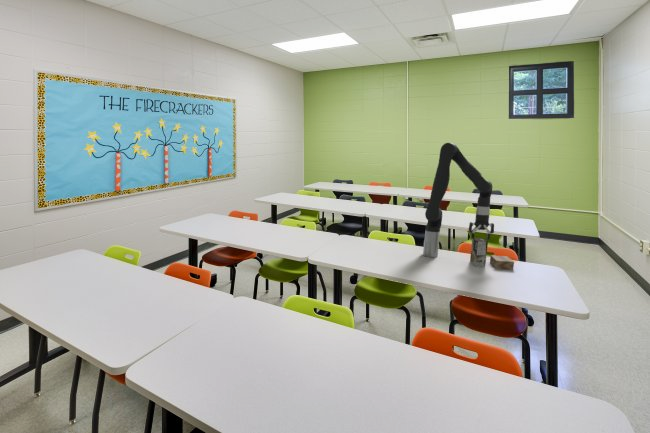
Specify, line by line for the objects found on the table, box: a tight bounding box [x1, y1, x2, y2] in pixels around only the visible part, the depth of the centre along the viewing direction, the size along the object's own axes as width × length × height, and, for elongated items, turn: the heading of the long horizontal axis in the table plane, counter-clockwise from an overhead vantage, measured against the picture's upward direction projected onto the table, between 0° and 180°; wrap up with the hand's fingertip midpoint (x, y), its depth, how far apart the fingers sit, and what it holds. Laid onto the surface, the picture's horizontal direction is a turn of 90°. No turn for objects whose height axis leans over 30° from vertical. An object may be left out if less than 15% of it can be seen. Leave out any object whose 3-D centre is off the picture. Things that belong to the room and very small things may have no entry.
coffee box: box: [469, 237, 489, 268], centre depth 218 cm, size 9×6×16 cm
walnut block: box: [489, 254, 515, 271], centre depth 217 cm, size 10×12×5 cm
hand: (480, 239), depth 217 cm, fingers open, 8 cm apart
